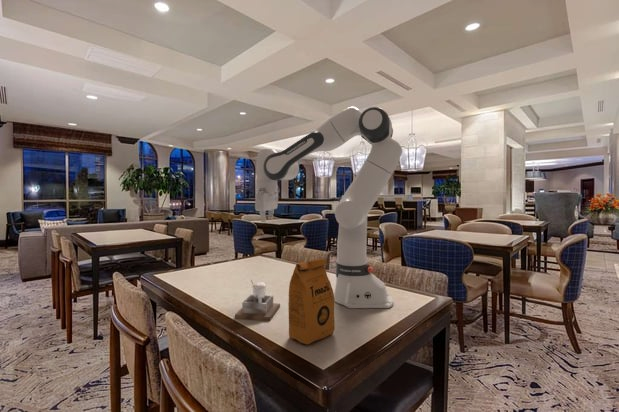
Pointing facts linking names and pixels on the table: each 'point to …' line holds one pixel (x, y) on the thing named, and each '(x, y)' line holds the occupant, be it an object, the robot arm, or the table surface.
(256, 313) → the socket base
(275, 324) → the table surface
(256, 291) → the milkshake
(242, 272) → the table surface
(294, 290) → the coffee package
